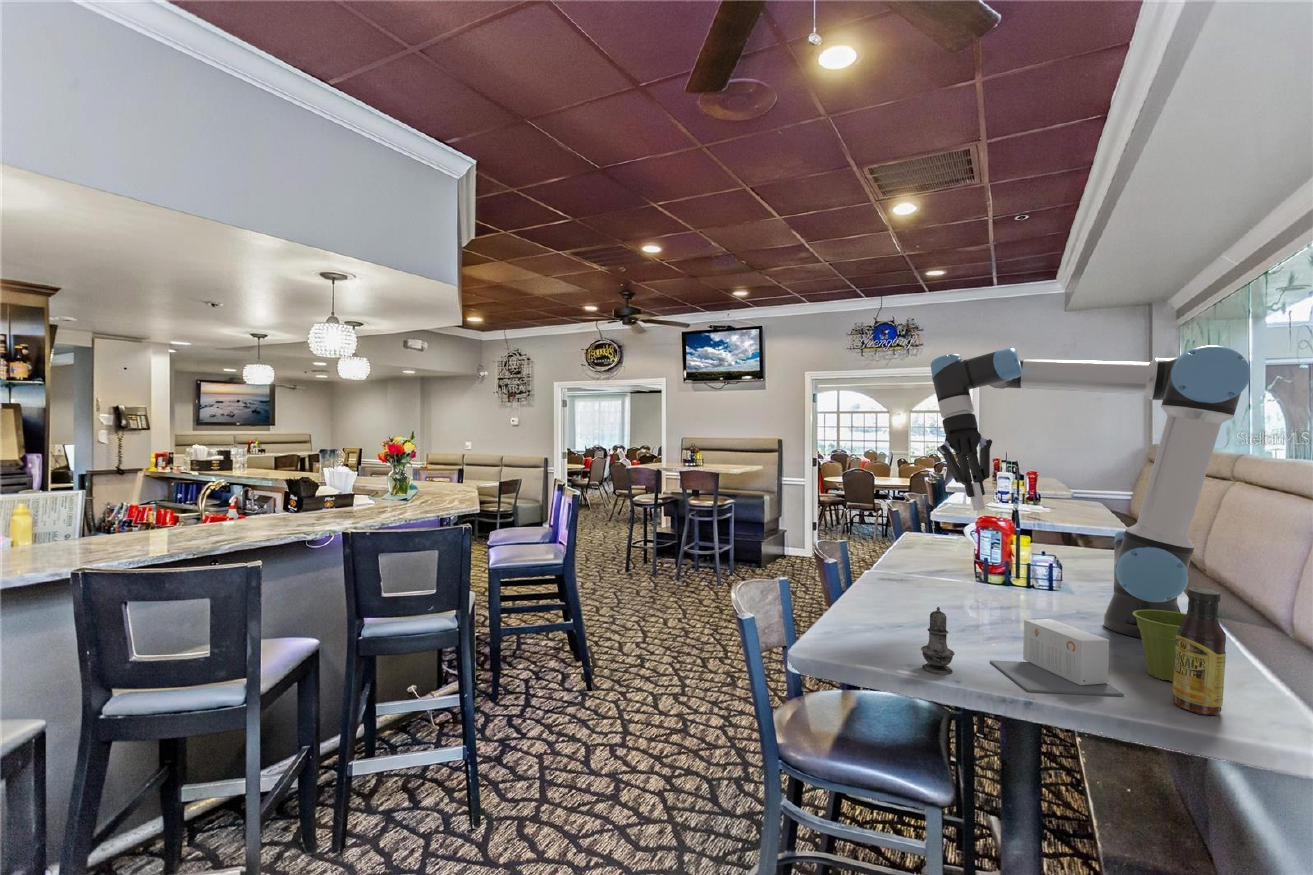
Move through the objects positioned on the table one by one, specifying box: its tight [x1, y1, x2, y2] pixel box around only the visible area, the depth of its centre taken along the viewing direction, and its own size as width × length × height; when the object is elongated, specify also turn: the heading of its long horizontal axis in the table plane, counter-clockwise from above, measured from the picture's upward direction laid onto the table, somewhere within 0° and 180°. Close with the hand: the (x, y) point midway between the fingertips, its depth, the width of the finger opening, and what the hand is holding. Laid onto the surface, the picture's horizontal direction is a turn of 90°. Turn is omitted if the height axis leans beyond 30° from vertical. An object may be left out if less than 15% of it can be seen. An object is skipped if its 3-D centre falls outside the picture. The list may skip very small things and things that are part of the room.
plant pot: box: [1133, 610, 1187, 683], centre depth 115 cm, size 12×12×11 cm
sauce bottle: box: [1172, 586, 1227, 716], centre depth 101 cm, size 7×6×20 cm
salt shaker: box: [920, 606, 955, 676], centre depth 117 cm, size 6×6×12 cm
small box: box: [1022, 618, 1110, 685], centre depth 116 cm, size 8×6×13 cm
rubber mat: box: [989, 659, 1125, 697], centre depth 113 cm, size 16×14×1 cm
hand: (979, 509), depth 148 cm, fingers closed
